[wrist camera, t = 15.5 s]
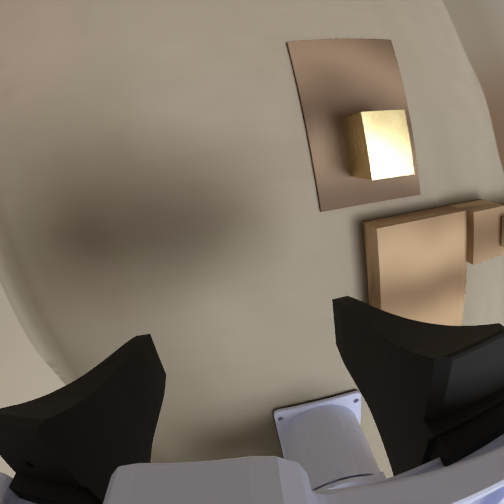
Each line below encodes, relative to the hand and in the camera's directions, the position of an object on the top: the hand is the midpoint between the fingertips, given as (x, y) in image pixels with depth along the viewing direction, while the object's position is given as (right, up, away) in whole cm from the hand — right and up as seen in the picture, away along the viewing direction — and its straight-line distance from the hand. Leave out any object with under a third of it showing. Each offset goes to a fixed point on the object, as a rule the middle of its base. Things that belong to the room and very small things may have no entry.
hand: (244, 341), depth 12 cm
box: (+15, +1, +11) cm, 19 cm away
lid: (+8, +13, +8) cm, 17 cm away
